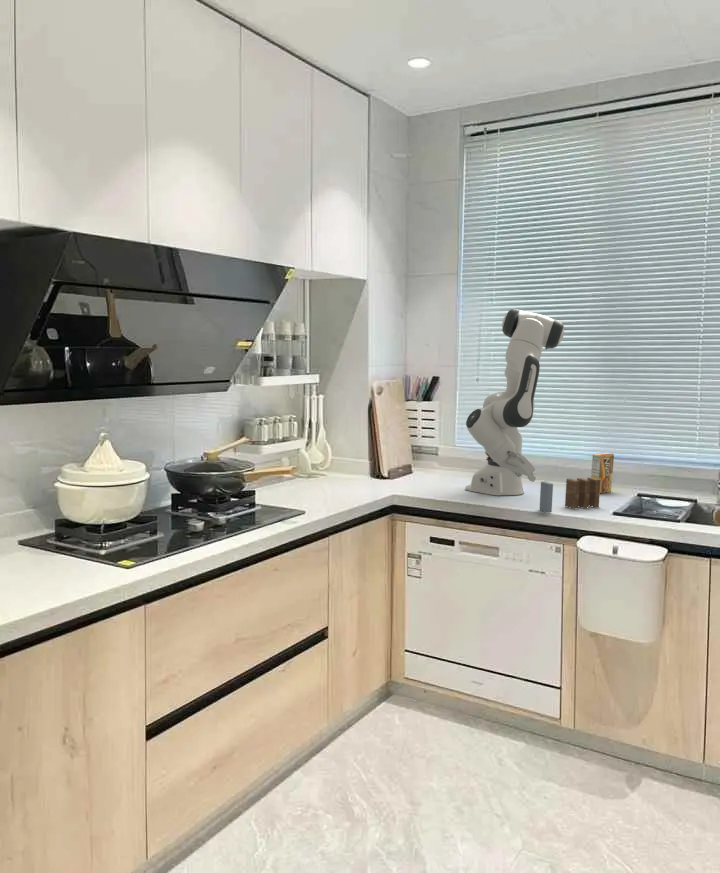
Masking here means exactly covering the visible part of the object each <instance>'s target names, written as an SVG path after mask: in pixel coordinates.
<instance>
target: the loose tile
mask: <svg viewBox="0 0 720 873" xmlns="http://www.w3.org/2000/svg"><path fill="white" fill-rule="evenodd" d="M553 490H554V484H553V483H551V482H548V481H540V491H539V492H540V493H539V509H540V510H539V511H541V510H543V511H545V512H544V513H546V512H552V509H553V494H554V491H553ZM543 511H542V512H543Z"/></svg>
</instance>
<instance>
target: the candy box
mask: <svg viewBox="0 0 720 873" xmlns="http://www.w3.org/2000/svg"><path fill="white" fill-rule="evenodd" d="M614 459H615V454H614V453H611V452H601V453H593V454H592V458H591V460H592V461H591V473H590V474H591V476H590V477H592V478H595V479H599V480H600V493H601V494H605V492H607V493H611V492H612V487H613V473H614ZM610 491H611V492H610Z"/></svg>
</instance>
